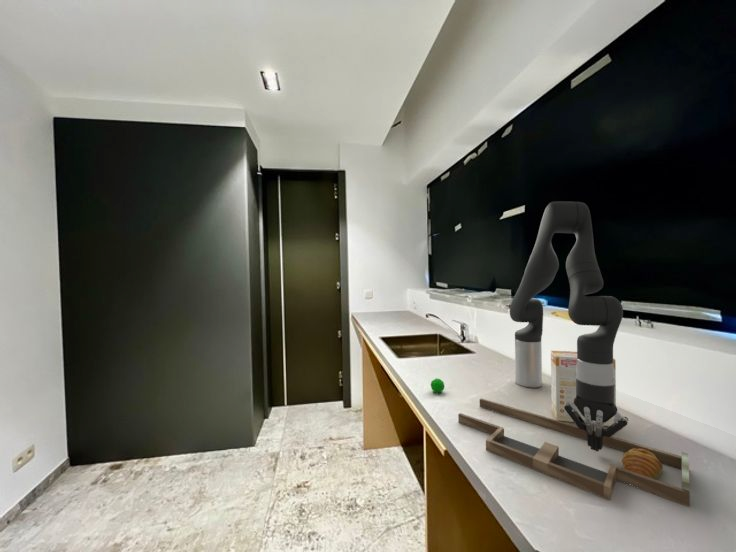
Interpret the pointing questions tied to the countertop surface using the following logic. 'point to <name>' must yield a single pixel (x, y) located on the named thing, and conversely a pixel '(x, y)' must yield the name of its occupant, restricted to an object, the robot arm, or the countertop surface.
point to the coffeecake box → (567, 384)
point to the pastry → (642, 463)
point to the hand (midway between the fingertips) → (594, 448)
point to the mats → (557, 460)
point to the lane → (546, 465)
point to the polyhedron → (437, 385)
